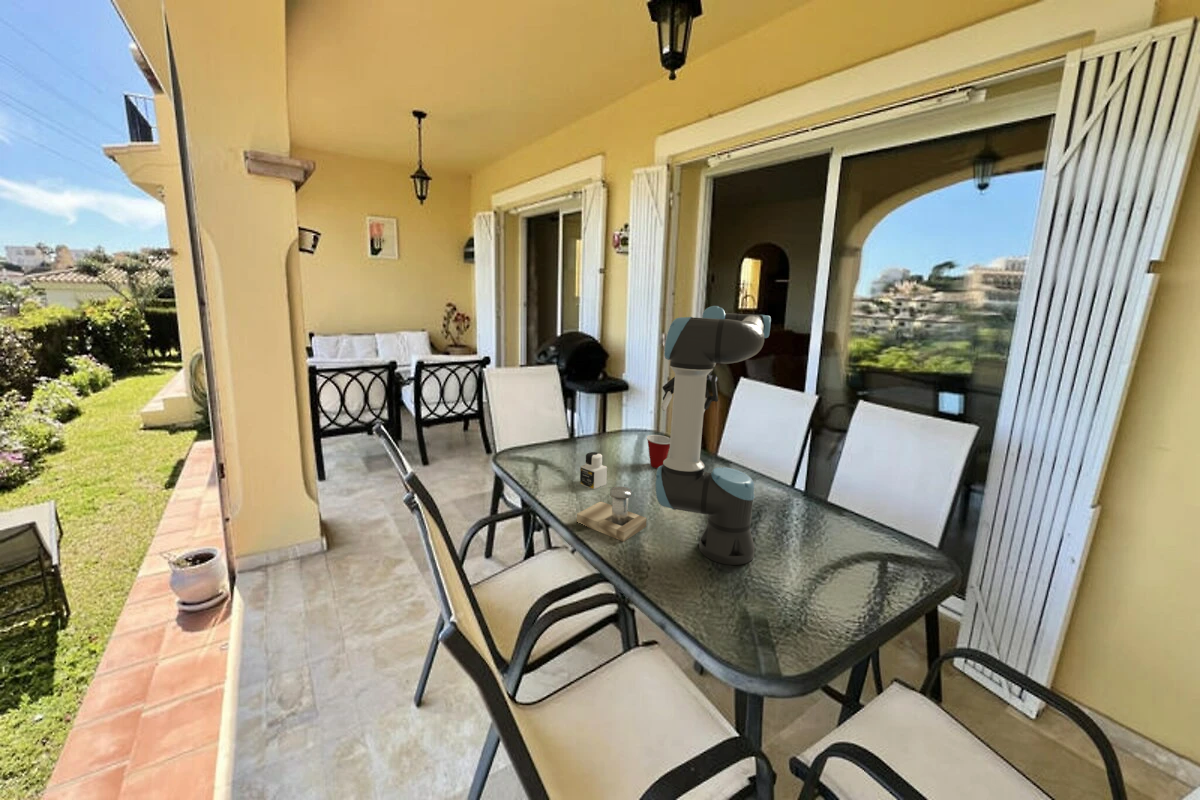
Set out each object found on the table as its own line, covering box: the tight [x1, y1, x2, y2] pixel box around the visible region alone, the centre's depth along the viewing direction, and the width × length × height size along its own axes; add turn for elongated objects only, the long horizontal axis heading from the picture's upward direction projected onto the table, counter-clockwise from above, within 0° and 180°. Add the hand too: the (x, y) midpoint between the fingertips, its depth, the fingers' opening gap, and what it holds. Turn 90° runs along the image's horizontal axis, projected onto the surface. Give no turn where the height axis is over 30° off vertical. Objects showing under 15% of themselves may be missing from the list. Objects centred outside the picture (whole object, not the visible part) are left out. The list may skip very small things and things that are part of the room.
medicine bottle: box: [579, 451, 608, 490], centre depth 184 cm, size 7×7×12 cm
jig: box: [576, 501, 648, 543], centre depth 154 cm, size 18×12×3 cm, turn 52°
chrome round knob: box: [609, 486, 632, 526], centre depth 152 cm, size 6×6×12 cm
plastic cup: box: [646, 434, 670, 469], centre depth 205 cm, size 11×11×12 cm
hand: (680, 412), depth 166 cm, fingers open, 13 cm apart
